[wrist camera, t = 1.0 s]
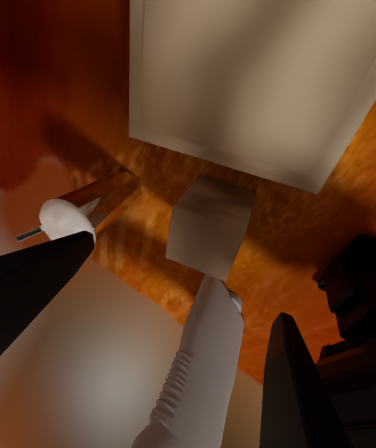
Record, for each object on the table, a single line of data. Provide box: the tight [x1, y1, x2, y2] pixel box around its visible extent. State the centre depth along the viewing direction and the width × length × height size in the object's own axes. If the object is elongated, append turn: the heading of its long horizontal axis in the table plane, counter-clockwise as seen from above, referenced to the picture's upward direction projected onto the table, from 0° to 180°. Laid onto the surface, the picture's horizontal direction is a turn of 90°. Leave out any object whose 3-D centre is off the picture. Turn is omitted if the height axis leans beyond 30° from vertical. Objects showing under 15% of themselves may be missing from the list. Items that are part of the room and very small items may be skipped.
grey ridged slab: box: [131, 274, 244, 448], centre depth 18 cm, size 11×4×22 cm, turn 29°
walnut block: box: [165, 174, 256, 281], centre depth 18 cm, size 5×5×6 cm
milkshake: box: [15, 171, 141, 244], centre depth 19 cm, size 5×5×10 cm
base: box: [129, 0, 376, 195], centre depth 13 cm, size 14×12×3 cm
